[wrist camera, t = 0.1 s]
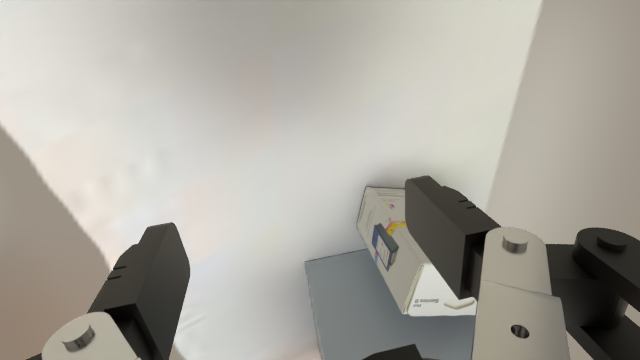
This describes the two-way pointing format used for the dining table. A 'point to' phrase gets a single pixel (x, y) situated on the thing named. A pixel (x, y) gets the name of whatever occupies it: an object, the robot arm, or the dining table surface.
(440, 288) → the ink box
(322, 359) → the stand
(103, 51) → the dining table surface
